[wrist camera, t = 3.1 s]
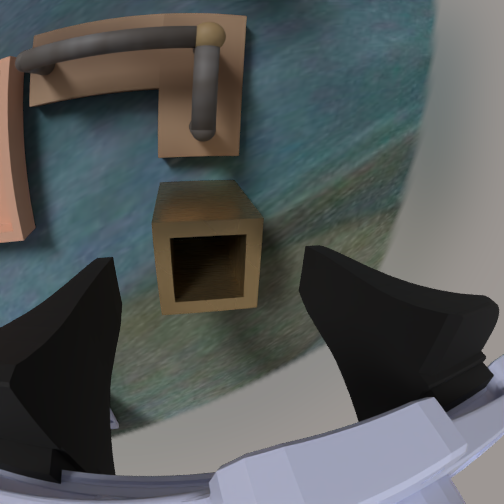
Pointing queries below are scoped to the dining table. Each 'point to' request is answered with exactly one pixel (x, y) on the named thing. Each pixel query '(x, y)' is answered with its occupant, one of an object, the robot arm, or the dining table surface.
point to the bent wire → (152, 73)
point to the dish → (13, 157)
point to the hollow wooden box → (206, 247)
